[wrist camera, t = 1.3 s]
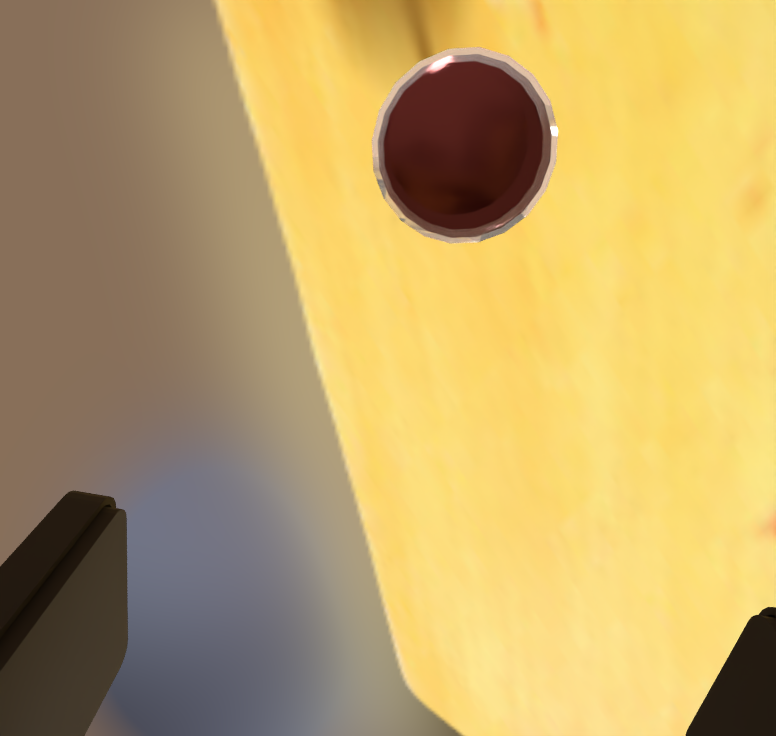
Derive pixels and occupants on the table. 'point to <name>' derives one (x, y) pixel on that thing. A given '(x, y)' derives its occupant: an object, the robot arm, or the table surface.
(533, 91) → the wineglass
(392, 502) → the table surface
